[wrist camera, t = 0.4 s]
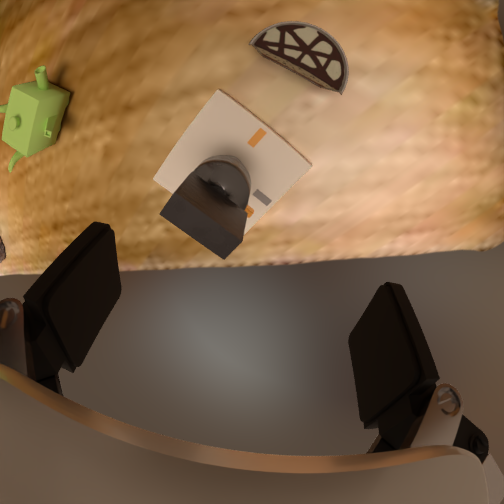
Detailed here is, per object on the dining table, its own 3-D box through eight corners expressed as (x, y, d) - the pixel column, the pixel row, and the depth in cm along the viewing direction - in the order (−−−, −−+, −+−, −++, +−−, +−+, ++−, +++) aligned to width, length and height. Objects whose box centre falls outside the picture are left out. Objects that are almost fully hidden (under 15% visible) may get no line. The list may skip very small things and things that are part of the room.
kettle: (41, 154, 40) (4, 175, 31) (24, 98, 33) (-15, 111, 24) (87, 125, 38) (46, 143, 28) (69, 60, 30) (26, 65, 21)
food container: (348, 61, 30) (371, 56, 22) (328, 92, 33) (345, 95, 25) (273, 20, 27) (273, 1, 19) (253, 52, 31) (246, 41, 23)
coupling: (181, 187, 36) (148, 230, 27) (215, 143, 32) (189, 171, 23) (234, 226, 39) (221, 280, 30) (272, 187, 35) (270, 233, 26)
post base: (156, 176, 43) (138, 192, 37) (219, 89, 34) (208, 89, 29) (238, 236, 49) (233, 260, 43) (311, 163, 40) (317, 178, 34)
